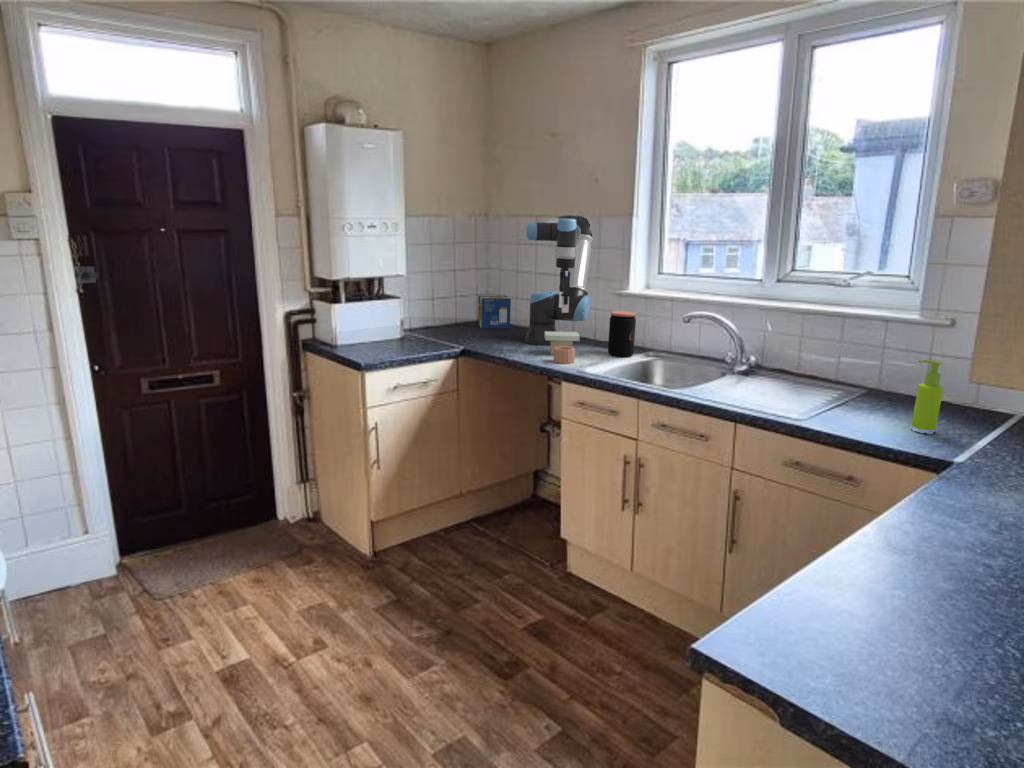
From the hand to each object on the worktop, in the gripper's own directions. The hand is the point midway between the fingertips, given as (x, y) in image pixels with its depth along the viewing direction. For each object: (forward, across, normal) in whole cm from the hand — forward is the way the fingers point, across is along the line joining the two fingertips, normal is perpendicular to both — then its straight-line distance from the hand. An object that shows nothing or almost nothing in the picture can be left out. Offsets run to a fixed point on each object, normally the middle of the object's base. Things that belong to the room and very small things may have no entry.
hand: (563, 310), depth 277 cm
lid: (+12, 0, 0) cm, 12 cm away
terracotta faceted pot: (+18, +16, -1) cm, 24 cm away
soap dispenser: (+18, +98, +92) cm, 136 cm away
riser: (+18, 0, 0) cm, 18 cm away
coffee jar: (+19, 0, +25) cm, 31 cm away
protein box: (+20, -67, -29) cm, 76 cm away
